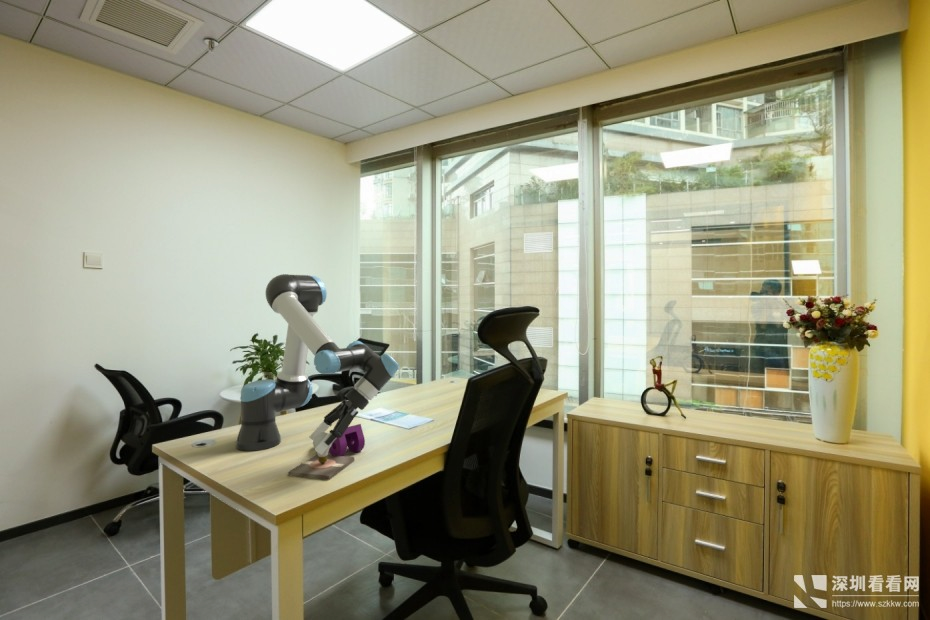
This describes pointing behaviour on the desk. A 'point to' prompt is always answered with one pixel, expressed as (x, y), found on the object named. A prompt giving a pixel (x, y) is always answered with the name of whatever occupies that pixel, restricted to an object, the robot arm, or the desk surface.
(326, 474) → the board
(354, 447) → the mounting bracket
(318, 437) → the light bulb
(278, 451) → the desk surface
